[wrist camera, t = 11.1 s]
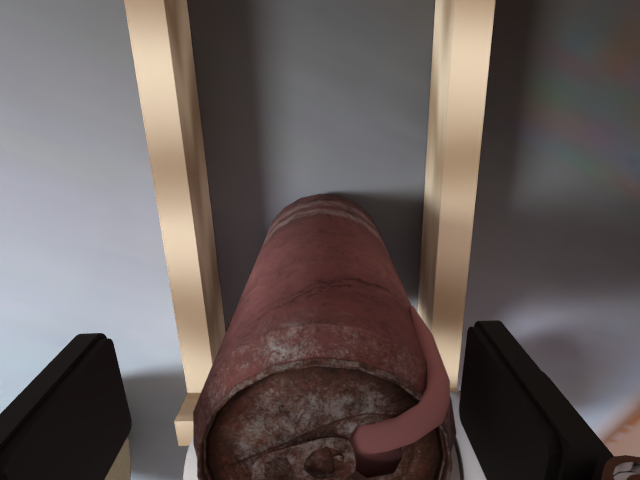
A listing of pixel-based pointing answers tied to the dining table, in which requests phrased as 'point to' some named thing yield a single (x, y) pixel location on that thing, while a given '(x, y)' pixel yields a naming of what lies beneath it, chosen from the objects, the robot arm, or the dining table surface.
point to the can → (325, 363)
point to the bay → (195, 208)
